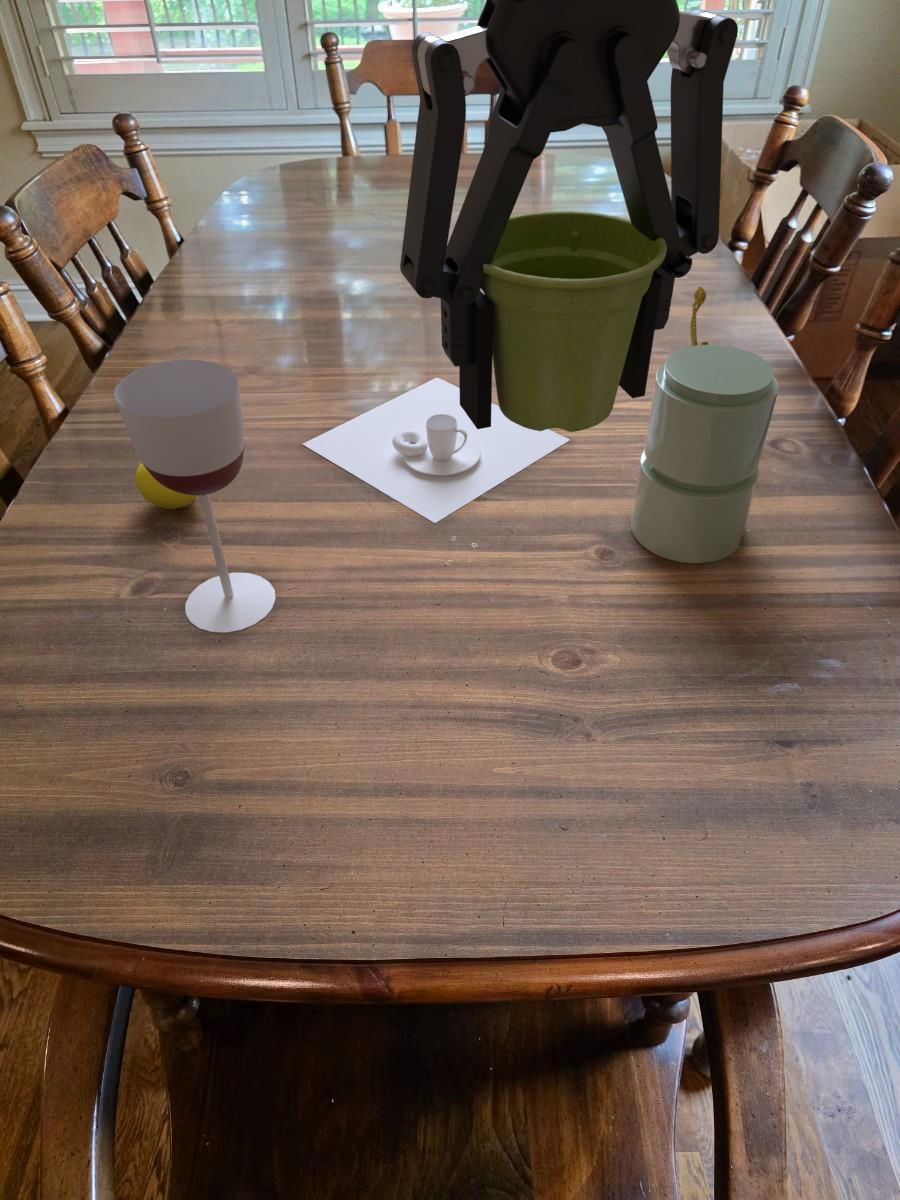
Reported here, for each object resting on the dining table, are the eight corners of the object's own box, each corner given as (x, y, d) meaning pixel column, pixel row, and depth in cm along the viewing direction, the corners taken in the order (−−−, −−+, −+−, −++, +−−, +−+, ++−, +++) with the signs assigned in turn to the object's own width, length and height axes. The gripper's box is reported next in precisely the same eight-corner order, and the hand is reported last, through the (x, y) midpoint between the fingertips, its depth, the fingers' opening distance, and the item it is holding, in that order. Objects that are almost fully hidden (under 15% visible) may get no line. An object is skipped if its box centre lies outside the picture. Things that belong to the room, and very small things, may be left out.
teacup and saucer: (381, 455, 89) (378, 420, 87) (436, 425, 94) (435, 391, 91) (441, 488, 85) (440, 453, 82) (496, 456, 89) (497, 421, 86)
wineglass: (237, 649, 69) (181, 429, 56) (159, 611, 72) (88, 396, 59) (300, 591, 74) (263, 377, 60) (224, 558, 77) (172, 349, 64)
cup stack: (764, 549, 77) (811, 386, 66) (663, 573, 75) (695, 409, 64) (705, 488, 84) (739, 332, 73) (611, 509, 82) (632, 351, 71)
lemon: (130, 516, 82) (114, 468, 79) (155, 484, 86) (142, 437, 83) (199, 524, 81) (186, 476, 78) (221, 491, 85) (210, 444, 82)
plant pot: (430, 405, 47) (425, 241, 41) (549, 350, 52) (559, 196, 46) (559, 475, 42) (574, 299, 36) (678, 407, 46) (708, 241, 41)
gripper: (779, -171, 36) (687, 339, 52) (284, -156, 31) (345, 402, 47) (903, -169, 31) (761, 398, 46) (333, -151, 26) (384, 476, 42)
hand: (552, 399), depth 47 cm, fingers closed on plant pot, 8 cm apart
